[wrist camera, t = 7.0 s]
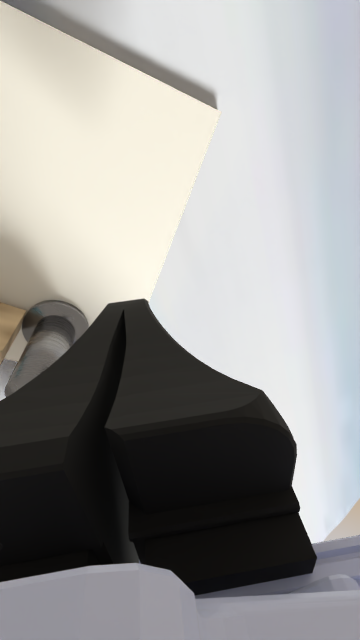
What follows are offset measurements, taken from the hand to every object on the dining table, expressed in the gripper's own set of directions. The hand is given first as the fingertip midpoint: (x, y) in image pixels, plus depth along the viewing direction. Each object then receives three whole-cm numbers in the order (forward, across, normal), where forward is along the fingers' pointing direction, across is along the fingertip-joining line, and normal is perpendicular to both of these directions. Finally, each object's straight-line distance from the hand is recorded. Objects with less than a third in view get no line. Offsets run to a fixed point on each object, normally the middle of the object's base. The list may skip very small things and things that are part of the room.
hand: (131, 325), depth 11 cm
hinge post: (+9, +6, +5) cm, 12 cm away
